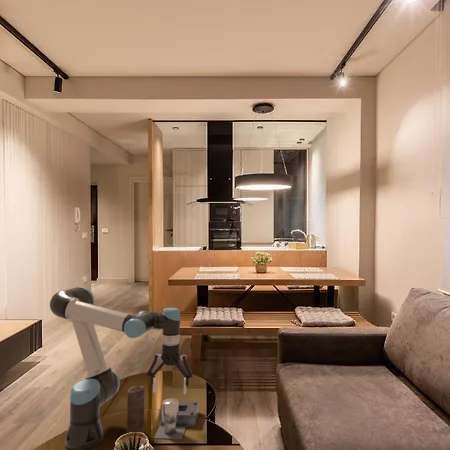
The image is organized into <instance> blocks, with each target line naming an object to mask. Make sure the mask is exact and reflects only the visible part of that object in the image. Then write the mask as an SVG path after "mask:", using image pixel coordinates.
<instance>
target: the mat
mask: <svg viewBox="0 0 450 450" xmlns="http://www.w3.org/2000/svg"><path fill="white" fill-rule="evenodd" d="M186 428H187V427H181V426H176V433H175V434H173V435H166V434H165V433H164V426H160V425H159V426H158V429H157V431H156V433H155V434H154V437H153V440H177V441H182V440H183V437H184V434H185V431H186Z"/></svg>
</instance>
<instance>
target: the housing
mask: <svg viewBox="0 0 450 450" xmlns="http://www.w3.org/2000/svg"><path fill="white" fill-rule="evenodd" d="M199 414H200V401H178V421H177V422H176V427H186V428H187V427H189V428H192V427H193V428H195V427H196V424H197V421H198V417H199ZM159 418H160V419H159V424H160V425H159V426H164V424H165V423H164V422H163V421H162V411H160V415H159Z"/></svg>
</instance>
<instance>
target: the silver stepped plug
mask: <svg viewBox="0 0 450 450" xmlns="http://www.w3.org/2000/svg"><path fill="white" fill-rule="evenodd" d="M178 402H179V399H177V398H166V399H164V400H162V407H161V409H162V410H161V412H162V421H163V422H164V423H165V424H164V433H165V434H166V435H173V434H175V433H176V427H177V426H176V422H177V421H178Z"/></svg>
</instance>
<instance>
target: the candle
mask: <svg viewBox="0 0 450 450" xmlns="http://www.w3.org/2000/svg"><path fill="white" fill-rule="evenodd" d="M126 404H127V406H126V413H127V414H126V434H127V433H129V432H143V434H144V433H145V387H144V386H143V385H137V386H136V385H133V386H131V387H129V389H127V400H126Z"/></svg>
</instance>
